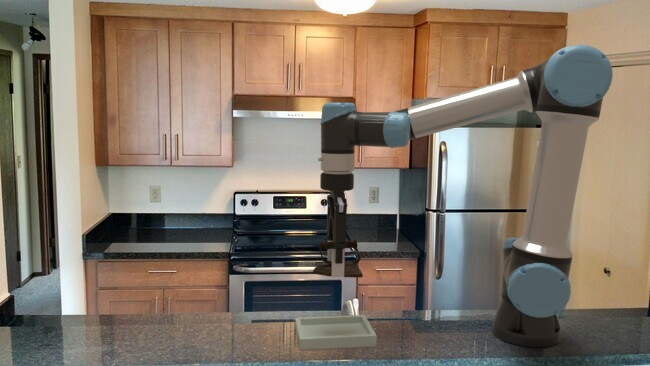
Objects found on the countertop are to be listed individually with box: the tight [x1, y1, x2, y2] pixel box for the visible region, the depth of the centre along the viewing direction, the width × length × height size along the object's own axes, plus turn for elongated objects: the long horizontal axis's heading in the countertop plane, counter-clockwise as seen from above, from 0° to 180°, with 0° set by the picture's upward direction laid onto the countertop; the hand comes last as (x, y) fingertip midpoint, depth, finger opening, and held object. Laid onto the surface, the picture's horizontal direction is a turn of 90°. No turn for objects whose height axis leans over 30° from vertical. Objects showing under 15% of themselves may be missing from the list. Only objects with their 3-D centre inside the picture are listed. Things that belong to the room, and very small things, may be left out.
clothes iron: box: [312, 238, 364, 278], centre depth 124 cm, size 7×11×10 cm, turn 96°
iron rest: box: [294, 314, 378, 351], centre depth 126 cm, size 17×13×2 cm
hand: (335, 272), depth 124 cm, fingers closed on clothes iron, 6 cm apart
